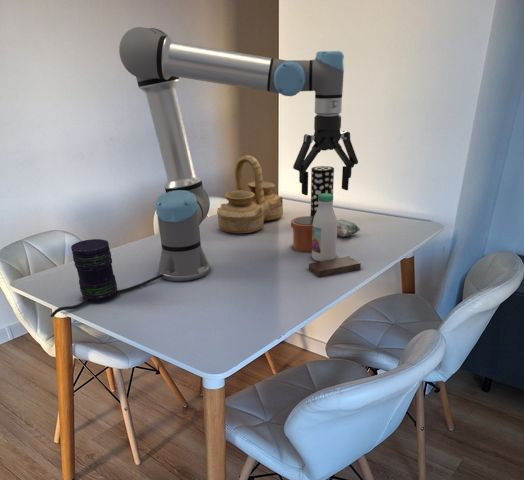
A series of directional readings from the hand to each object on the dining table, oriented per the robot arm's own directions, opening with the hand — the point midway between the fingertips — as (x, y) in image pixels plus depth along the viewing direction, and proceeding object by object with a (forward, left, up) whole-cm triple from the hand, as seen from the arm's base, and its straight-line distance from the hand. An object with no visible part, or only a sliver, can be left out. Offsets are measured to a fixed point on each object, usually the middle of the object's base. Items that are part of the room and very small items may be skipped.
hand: (325, 191), depth 154 cm
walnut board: (-2, -11, -21) cm, 23 cm away
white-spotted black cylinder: (+18, +36, -21) cm, 45 cm away
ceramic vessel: (-6, +47, -21) cm, 52 cm away
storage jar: (-70, +1, -21) cm, 73 cm away
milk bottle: (0, 0, -21) cm, 21 cm away
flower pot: (0, +12, -21) cm, 24 cm away
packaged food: (+16, +18, -21) cm, 32 cm away
